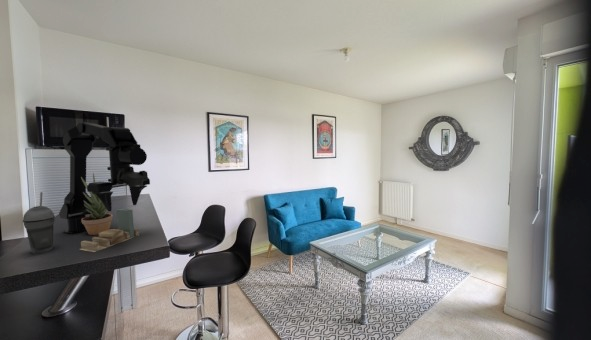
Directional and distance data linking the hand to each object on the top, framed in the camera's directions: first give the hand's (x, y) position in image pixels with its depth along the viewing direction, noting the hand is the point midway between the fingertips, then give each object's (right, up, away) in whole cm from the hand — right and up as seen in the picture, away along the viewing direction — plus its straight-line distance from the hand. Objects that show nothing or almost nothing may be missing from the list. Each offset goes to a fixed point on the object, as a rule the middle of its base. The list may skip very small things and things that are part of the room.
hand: (122, 208), depth 89 cm
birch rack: (-3, -13, -1) cm, 13 cm away
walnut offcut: (-3, -12, -1) cm, 12 cm away
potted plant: (-15, -12, +9) cm, 22 cm away
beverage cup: (-20, -14, -8) cm, 26 cm away
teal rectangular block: (-1, -11, +4) cm, 12 cm away
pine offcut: (-3, -10, -1) cm, 10 cm away
